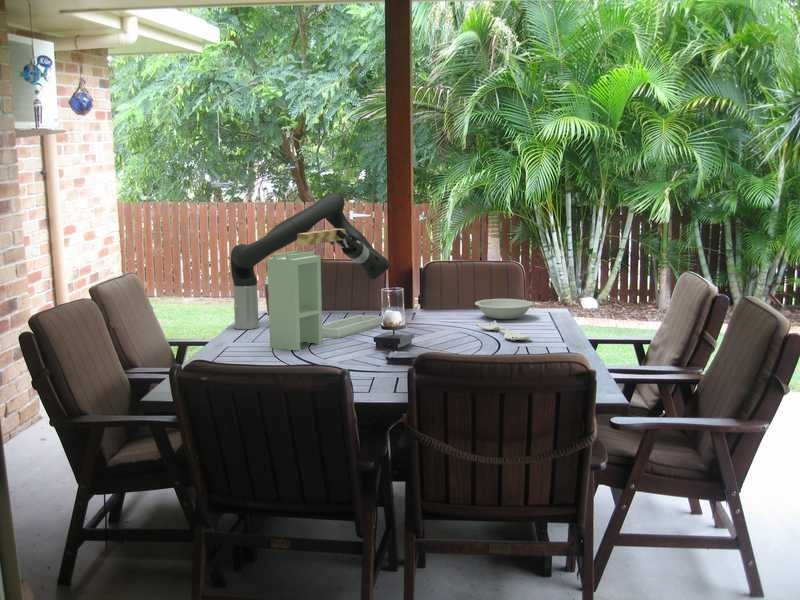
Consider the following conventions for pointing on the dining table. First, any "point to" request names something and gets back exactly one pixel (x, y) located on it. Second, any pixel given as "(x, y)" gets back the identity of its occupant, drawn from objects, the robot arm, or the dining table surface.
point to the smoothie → (267, 294)
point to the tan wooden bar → (318, 237)
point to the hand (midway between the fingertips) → (332, 231)
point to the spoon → (508, 333)
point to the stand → (294, 299)
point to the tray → (350, 326)
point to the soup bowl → (504, 308)
